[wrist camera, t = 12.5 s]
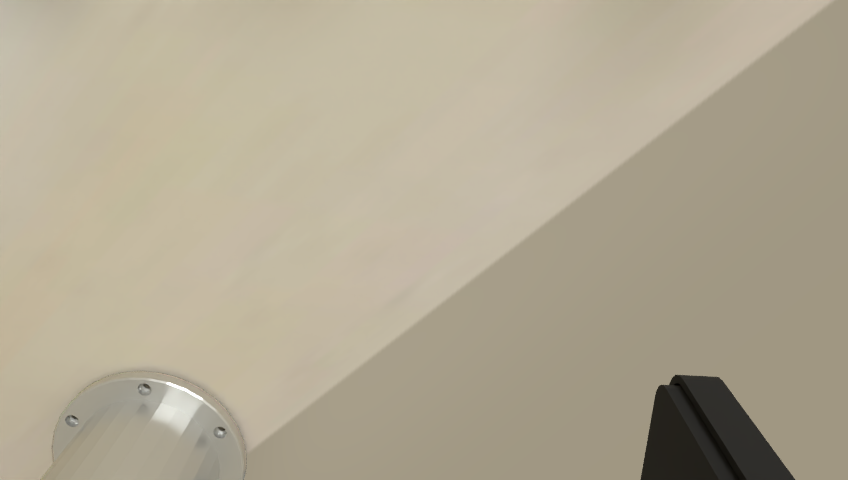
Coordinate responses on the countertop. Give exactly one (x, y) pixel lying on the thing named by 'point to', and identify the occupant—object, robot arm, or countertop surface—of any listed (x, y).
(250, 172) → the countertop surface
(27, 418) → the countertop surface
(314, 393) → the countertop surface
